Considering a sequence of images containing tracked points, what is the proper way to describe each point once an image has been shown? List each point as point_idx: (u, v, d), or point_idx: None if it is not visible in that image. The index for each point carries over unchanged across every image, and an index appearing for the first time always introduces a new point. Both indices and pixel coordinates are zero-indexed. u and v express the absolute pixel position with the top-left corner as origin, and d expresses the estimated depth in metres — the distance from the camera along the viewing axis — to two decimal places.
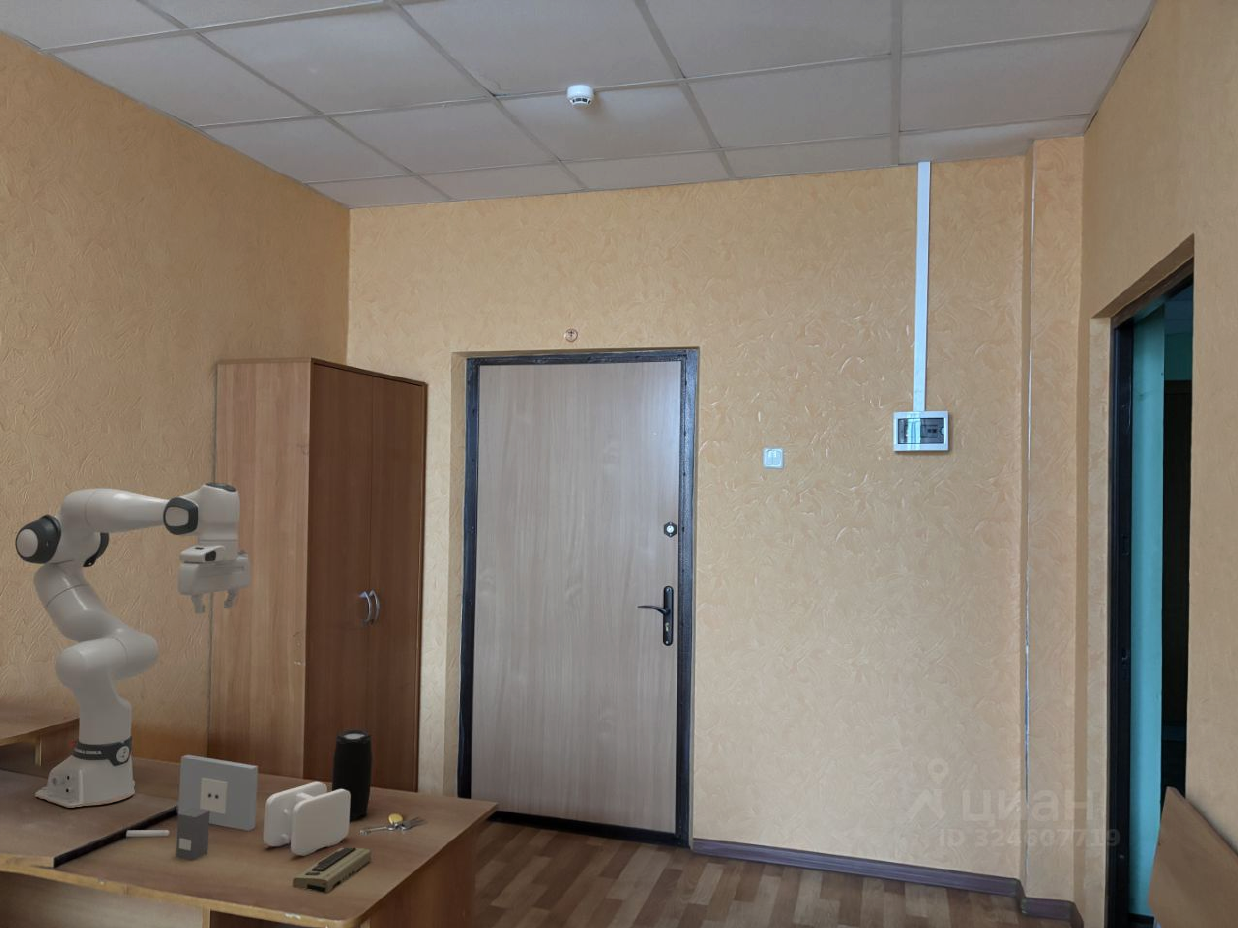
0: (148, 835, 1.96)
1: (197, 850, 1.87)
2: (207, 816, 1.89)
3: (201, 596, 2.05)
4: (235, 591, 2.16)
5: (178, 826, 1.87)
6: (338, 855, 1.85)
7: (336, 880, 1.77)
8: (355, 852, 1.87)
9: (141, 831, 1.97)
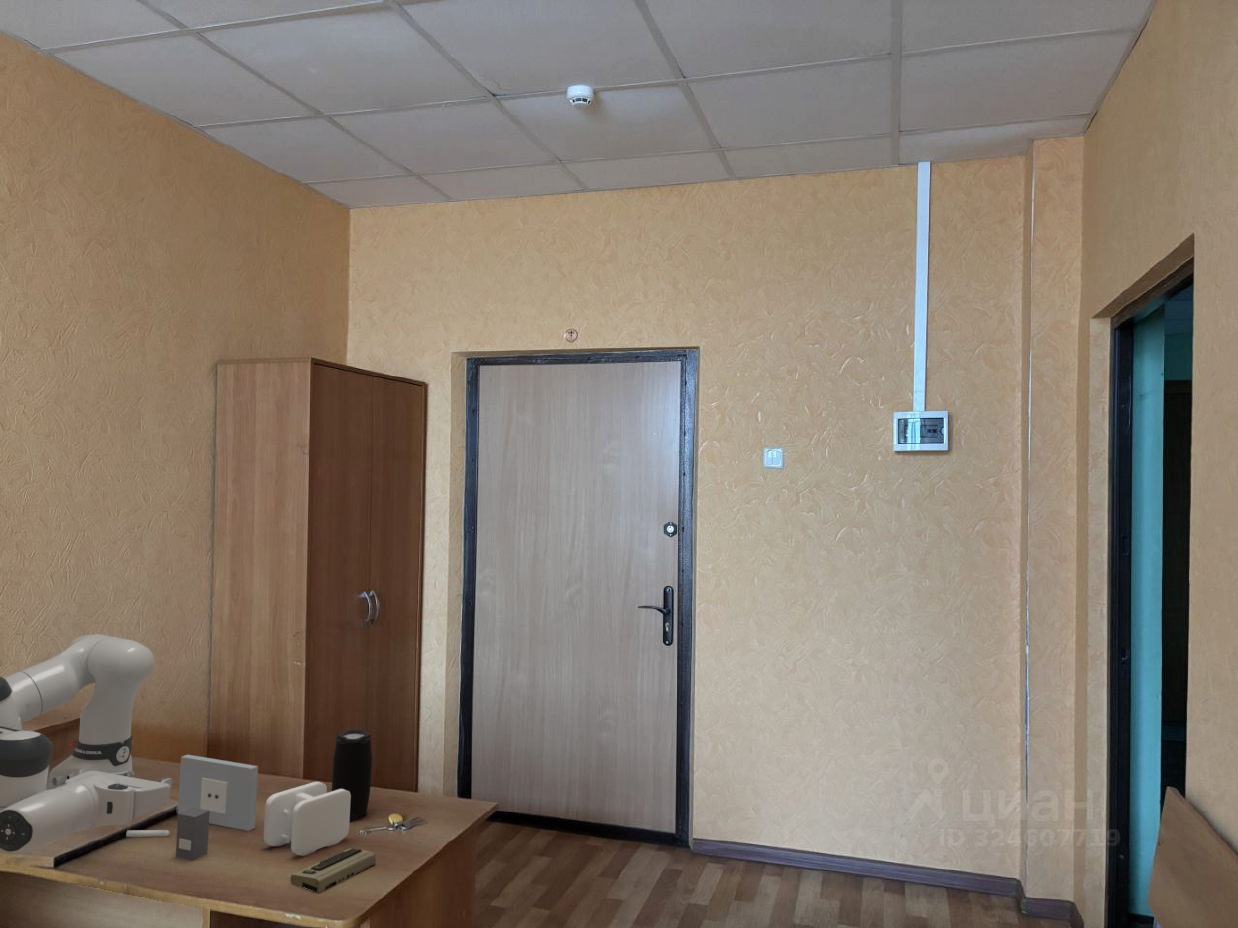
0: (148, 835, 1.96)
1: (197, 850, 1.87)
2: (207, 816, 1.89)
3: None
4: None
5: (178, 826, 1.87)
6: (342, 856, 1.85)
7: (330, 881, 1.77)
8: (359, 854, 1.86)
9: (141, 831, 1.97)
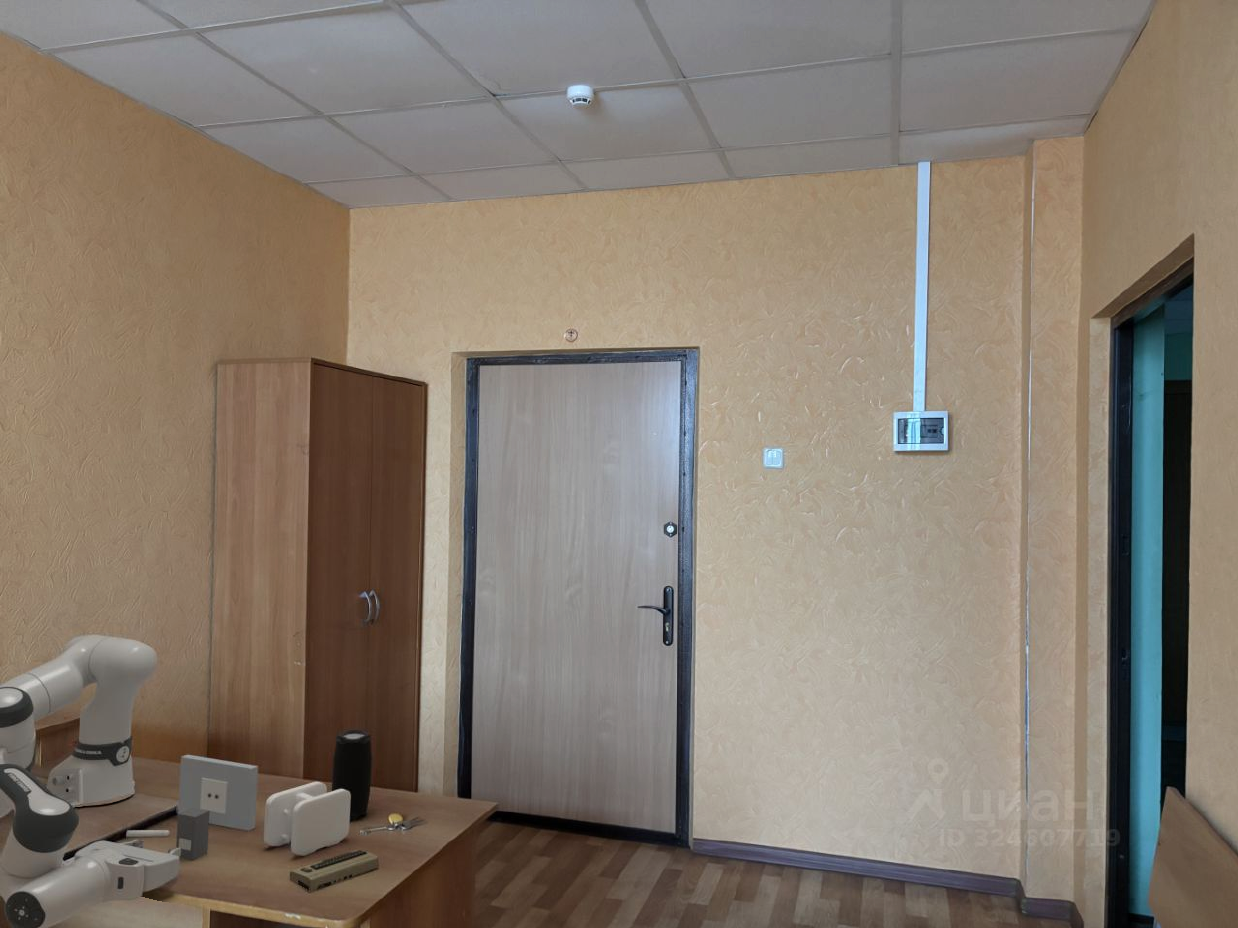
0: (148, 835, 1.96)
1: (197, 850, 1.87)
2: (207, 816, 1.89)
3: None
4: None
5: (178, 826, 1.87)
6: (345, 857, 1.85)
7: (324, 881, 1.76)
8: (362, 856, 1.85)
9: (141, 831, 1.97)
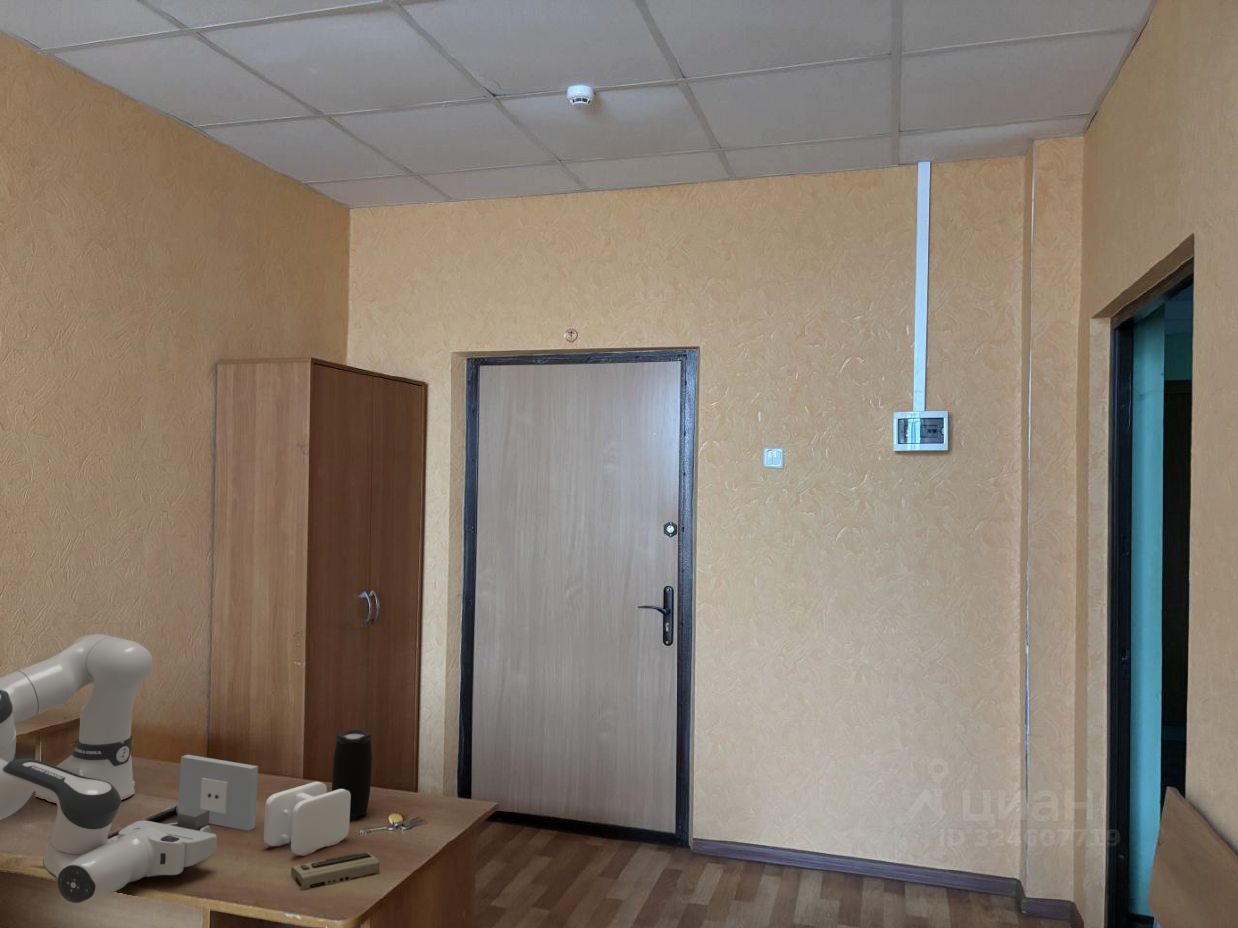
0: None
1: None
2: (207, 816, 1.89)
3: (197, 831, 1.84)
4: None
5: (178, 826, 1.87)
6: (347, 858, 1.85)
7: (317, 880, 1.77)
8: (363, 859, 1.84)
9: None
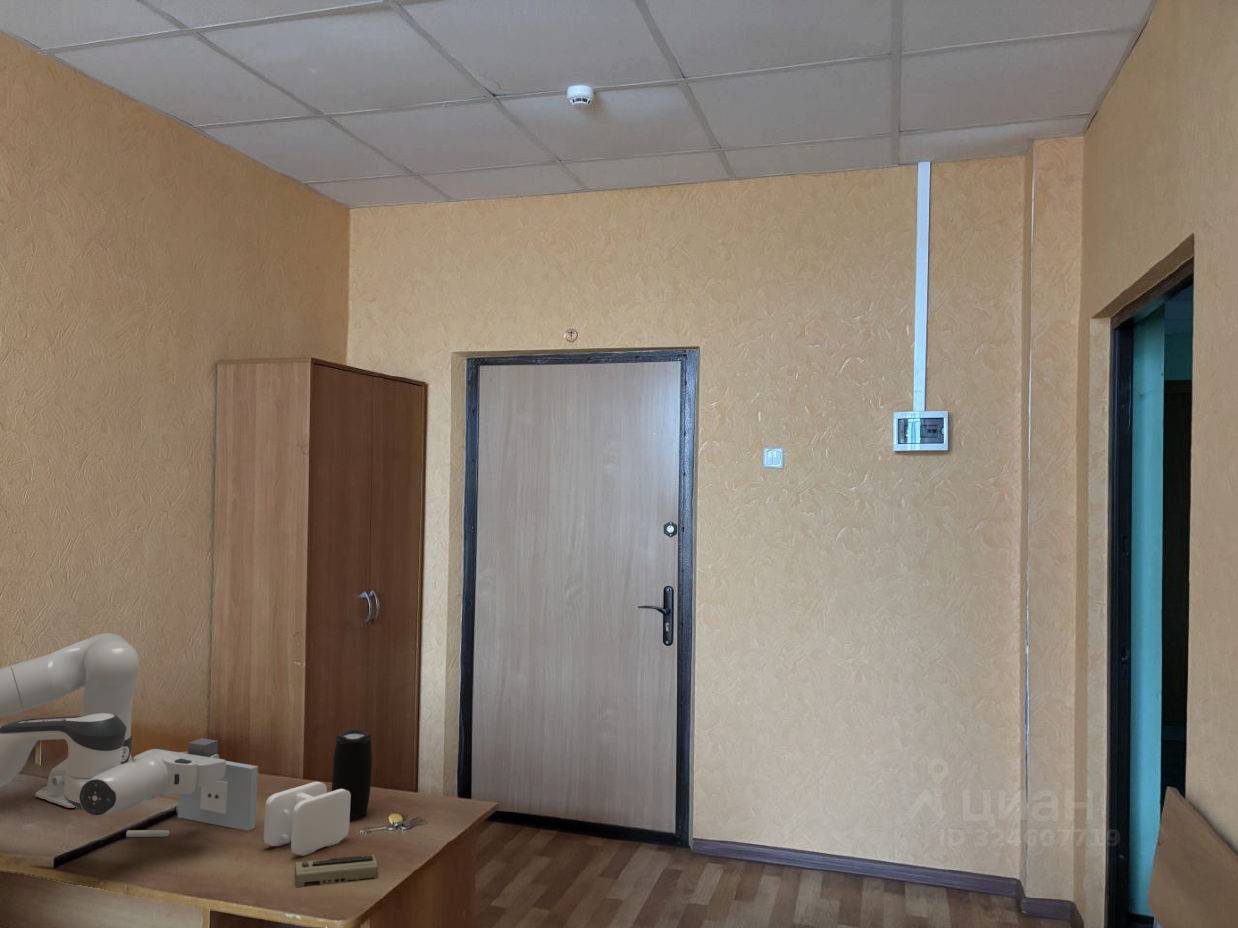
0: (148, 835, 1.96)
1: None
2: (216, 746, 2.01)
3: None
4: None
5: None
6: (349, 859, 1.84)
7: (312, 879, 1.77)
8: (363, 862, 1.83)
9: (141, 831, 1.97)
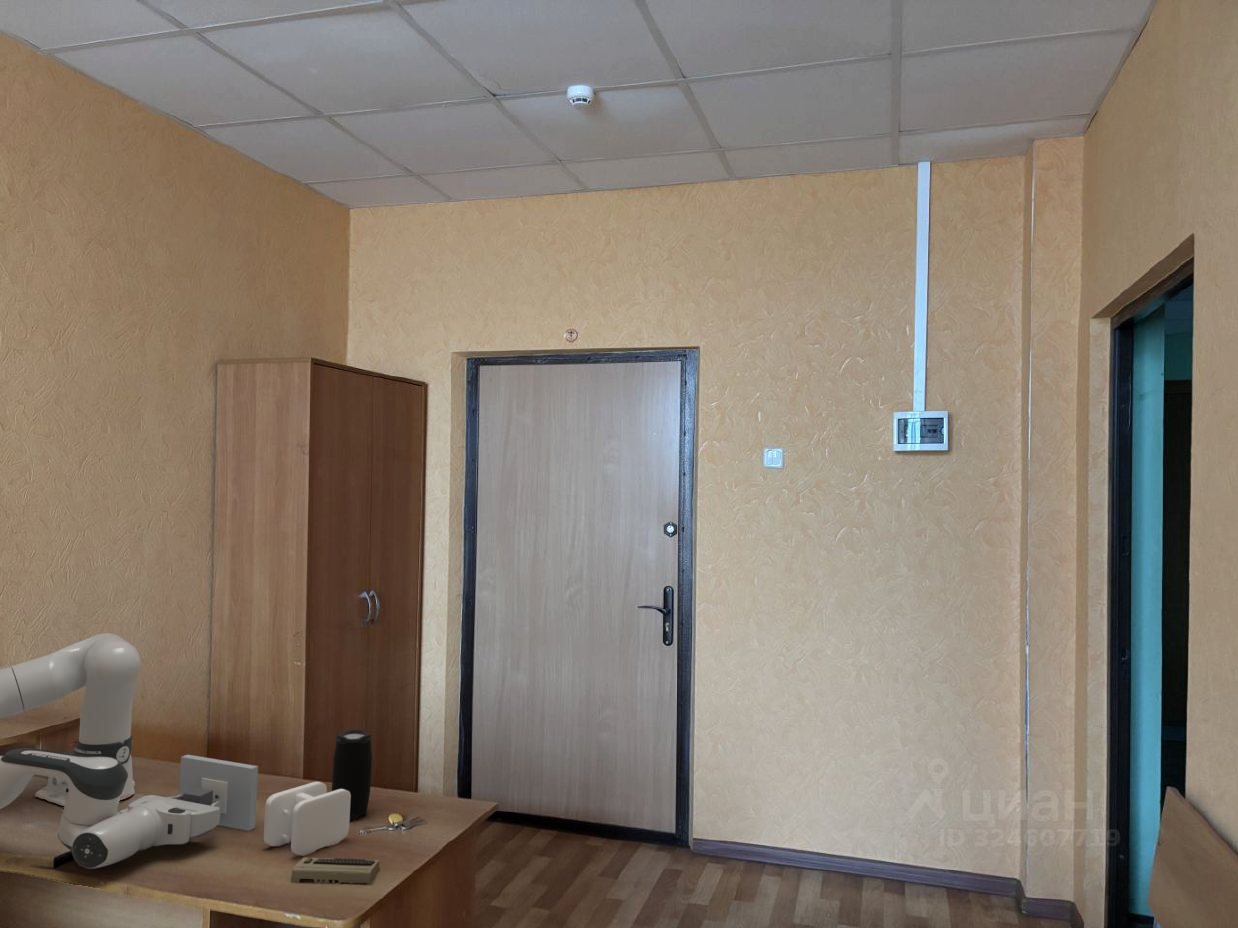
0: None
1: None
2: (211, 795, 2.01)
3: None
4: None
5: None
6: (350, 861, 1.83)
7: (307, 876, 1.78)
8: (360, 866, 1.81)
9: None
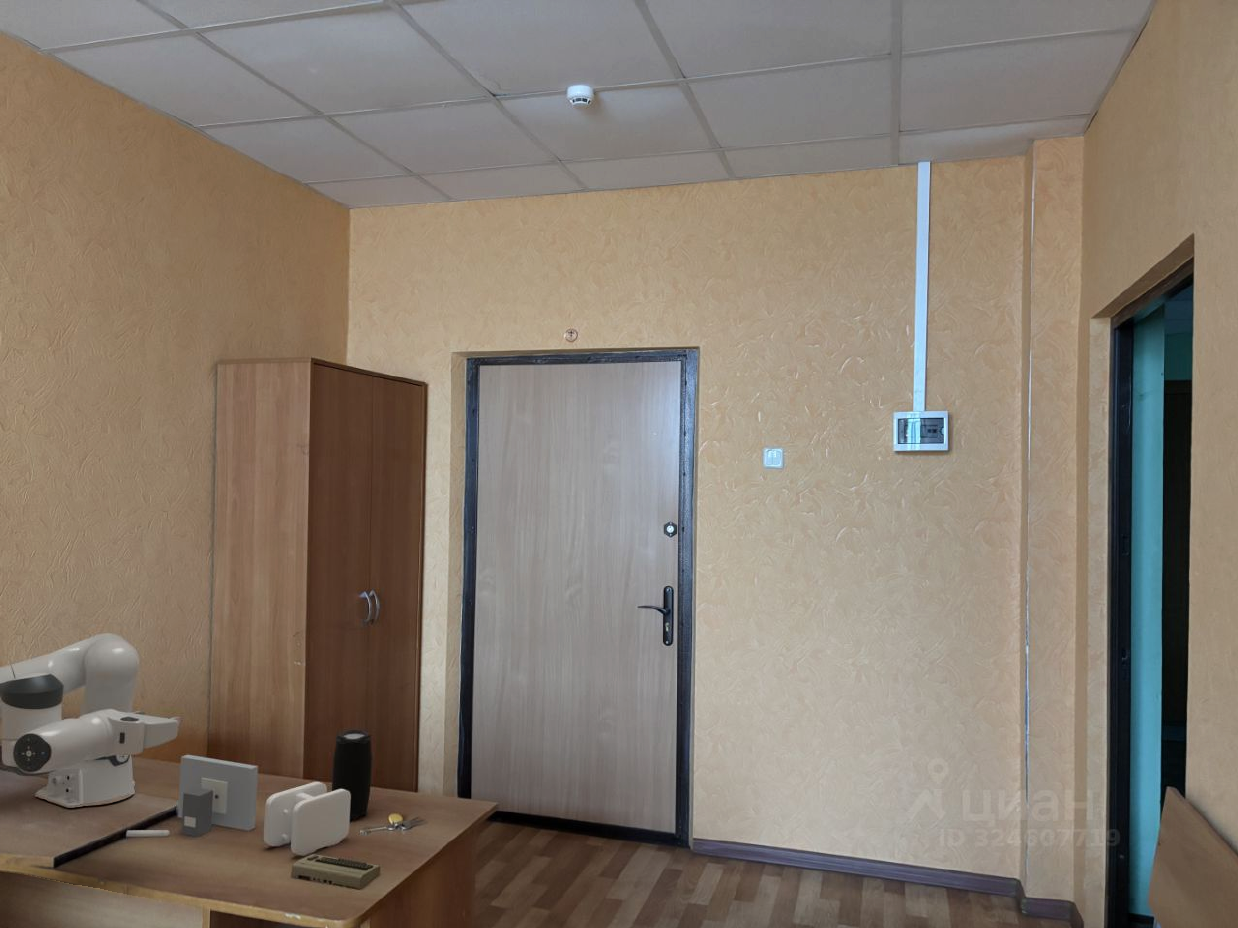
0: (148, 835, 1.96)
1: (202, 827, 1.99)
2: (211, 795, 2.01)
3: None
4: None
5: (183, 805, 1.99)
6: (349, 863, 1.82)
7: (304, 873, 1.79)
8: (355, 870, 1.79)
9: (141, 831, 1.97)
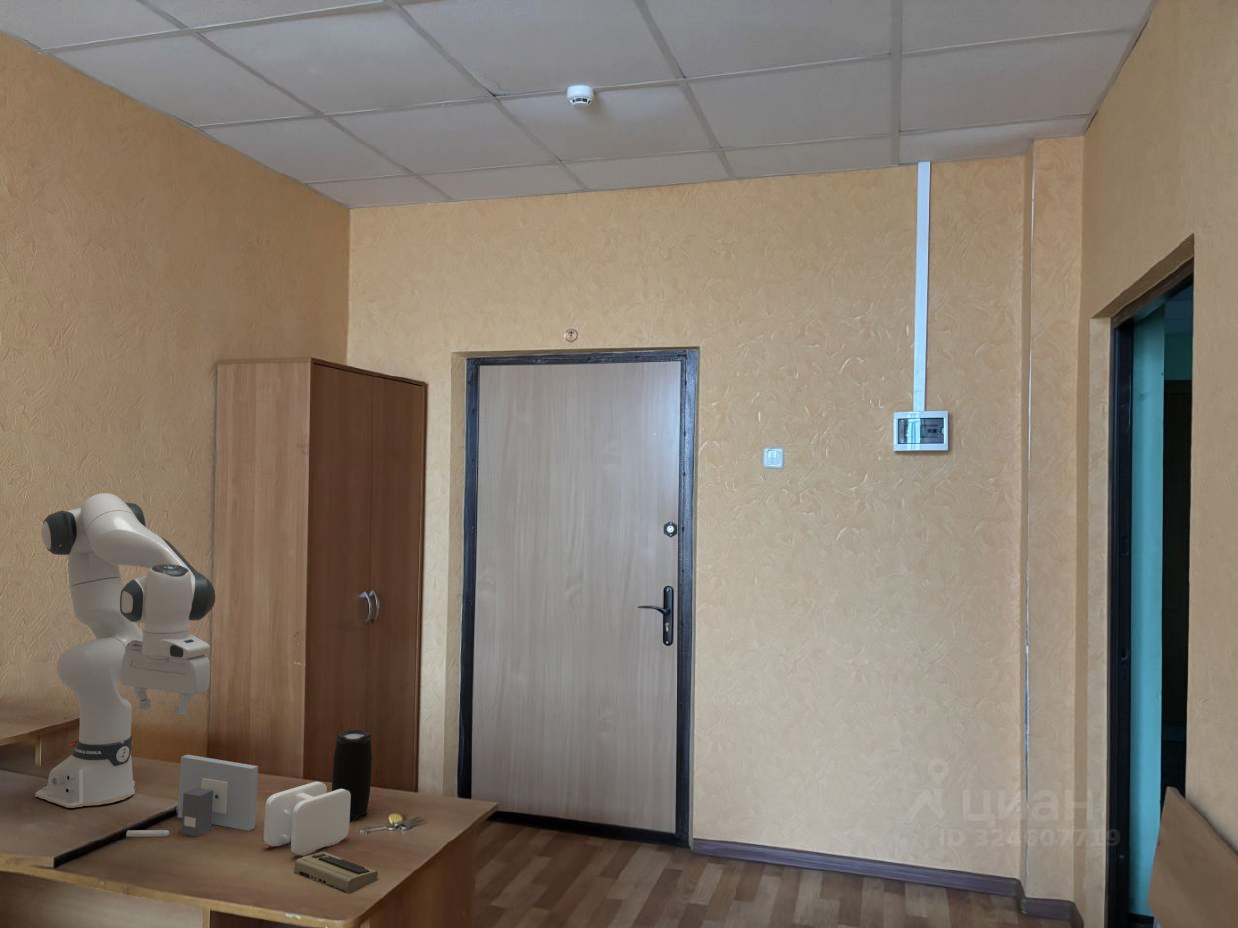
0: (148, 835, 1.96)
1: (202, 827, 1.99)
2: (211, 795, 2.01)
3: None
4: None
5: (183, 805, 1.99)
6: (347, 865, 1.81)
7: (304, 870, 1.81)
8: (347, 872, 1.78)
9: (141, 831, 1.97)
